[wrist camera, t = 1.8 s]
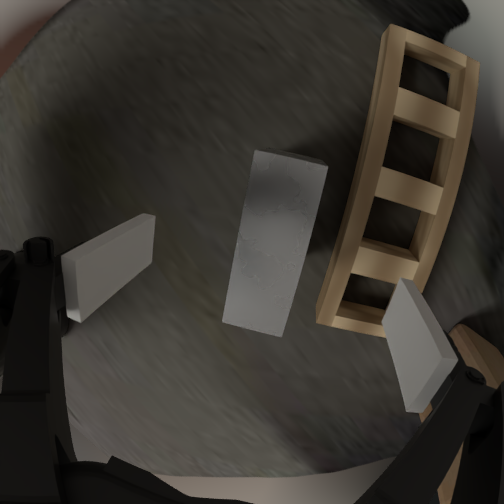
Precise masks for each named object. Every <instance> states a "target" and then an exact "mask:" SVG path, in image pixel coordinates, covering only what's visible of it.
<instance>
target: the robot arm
mask: <svg viewBox="0 0 504 504" xmlns="http://www.w3.org/2000/svg"><path fill="white" fill-rule="evenodd" d="M155 218H156V216H154V215H149V214H145V213H143V214H140V215H138V216H136V217H134V218H132V219H130V220H128V221H126V222H124V223H122V224H120V225H118V226H116V227H114V228H112V229H110V230H108V231H106V232H105V233H103V234H101V235H99V236H97V237H95V238H93V239H91V240H89V241H86V242H82V243H80V244H78V245H76V246H74V248H73V247H72V248H71V249H69V250H68V251H65V252H63V253H61V254H60V255H58V256H56V257H54V248H53V240H52V239H50V238H47V237H34V238H31V239H28V240H26V241H25V242H24V243H23V249H24V252H18V253H15V254H14V253H13V252H12V251H9V250H0V378H1V376H3V381H2V392H1V394H0V504H253V503H248V502H244V501H240V500H229V499H209V498H198V497H190V496H187V495H185V494H183V493H181V492H180V491H178V490H177V489H175V488H173V487H172V486H170V485H168V484H167V483H165V482H164V481H162V480H160V479H159V478H158V477H156V476H154V475H153V474H152V473H150V472H148V471H146V470H143V469H141V468H139V467H136V466H134V465H132V464H129V463H127V462H125V461H123V460H121V459H118V458H116V457H114V456H111V458H110V460H109V461H108V463H107V464H105V463H99V462H93V461H77V458H76V455H75V452H74V448H73V444H72V438H71V432H70V426H69V420H68V413H67V405H66V397H65V388H64V377H63V363H62V343H61V337H62V336H63V335H64V334H65V333H66V331H67V328H68V323H69V318H71V319H73V320H75V321H78V322H80V323H82V322H83V321H84V320H85V319H86V318H87V317H88V316H90V315H91V314H92V313H93V312H94V311H95V310H96V309H98V308H99V307H100V306H101V305H102V304H103V303H104V302H106V301H107V300H108V299H109V298H110V297H111V296H113V295H114V294H115V293H116V292H117V291H118V290H120V289H121V288H122V287H123V286H124V285H126V284H127V283H128V282H129V281H130V280H132V279H133V278H134V277H135V276H136V275H138V274H139V273H140V272H141V271H142V270H144V269H145V268H146V267H147V266H148V265H150V264H151V263H152V254H153V240H154V228H155ZM382 325H383V328H384V331H385V335H386V338H387V341H388V345H389V348H390V351H391V355H392V358H393V362H394V365H395V369H396V373H397V376H398V380H399V384H400V388H401V392H402V396H403V400H404V404H405V408H406V412H416V413H422V412H423V411H424V410H425V408H426V407H427V406H428V404H429V403H431V406H432V411H431V412H430V413H429V415H428V416H427V417H426V418H425V420H424V421H423V422H422V423H421V425H420V426H419V427H418V428H419V429H418V430H417V431H416V433H415V434H414V435H413V437H412V438H411V439H410V441H409V442H408V443H407V445H406V446H405V447H404V448H403V450H402V451H401V452H400V453H399V455H398V456H397V457H396V458H395V460H394V461H393V462H392V463H391V464H390V465H389V467H388V468H387V469H386V470H385V471H384V472H383V474H382V475H381V476H380V477H379V478H378V479H377V480H376V481H375V482H374V483H373V485H372V486H371V487H370V488H369V489H368V490H367V491H366V492H365V493H364V494H363V495H362V496H361V497H360V498H359V499H358V500H357V501H356V502H355V503H354V504H429V502H430V501H431V499H432V498H433V496H434V494H435V493H436V491H437V490H438V488H439V486H440V485H441V483H442V481H443V479H444V478H445V476H446V474H447V472H448V471H449V469H450V467H451V465H452V463H453V461H454V459H455V457H456V455H457V454H458V452H459V450H460V447H461V445H462V443H463V448H462V454H461V459H460V465H459V469H458V474H457V479H456V483H455V487H454V491H453V495H452V499H451V503H450V504H504V381H503V382H501V384H500V385H499V387H498V388H497V389H495V388H492V387H490V386H487V385H486V384H487V381H486V379H485V377H484V375H483V374H482V373H481V372H480V371H478V370H477V369H475V368H473V367H470V366H467V365H466V363H465V361H464V360H463V358H462V356H461V354H460V352H459V351H458V348H457V347H456V346H455V343H454V341H453V340H452V338H451V336H450V335H449V334H448V333H447V332H446V331H444V330H442V329H441V327H440V325H439V323H438V322H437V320H436V318H435V316H434V315H433V313H432V311H431V310H430V308H429V306H428V304H427V303H426V301H425V300H424V298H423V296H422V295H421V293H420V291H419V290H418V288H417V287H416V285H415V283H414V282H413V280H409V279H405V278H401V277H400V279H399V281H398V284H397V286H396V289H395V291H394V294H393V296H392V299H391V301H390V303H389V306H388V308H387V310H386V313H385V315H384V317H383V319H382ZM463 441H464V442H463Z"/></svg>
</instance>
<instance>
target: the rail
mask: <svg viewBox="0 0 504 504" xmlns="http://www.w3.org/2000/svg"><path fill="white" fill-rule="evenodd" d="M404 55H407V56H409V57H412V58H414V59H417V60H420V61H422V62H424V63H427V64H429V65H432V66H434V67H436V68H439V69H441V70H443V71H445V72H448V73H450V80H449V88H448V95H447V101H446V106H445V105H443V104H441V103H439V102H436V101H434V100H431V99H429V98H427V97H424V96H422V95H419V94H416V93H414V92H411V91H409V90H406V89H403V88H400V87H399V82H400V76H401V70H402V64H403V57H404ZM479 70H480V63H479V62H478V61H476V60H474V59H472V58H470V57H468V56H466V55H464V54H462V53H460V52H458V51H456V50H454V49H452V48H450V47H448V46H446V45H444V44H441V43H439V42H437V41H435V40H432V39H430V38H428V37H425V36H423V35H420V34H418V33H415V32H413V31H410V30H407V29H405V28H402V27H399V26H396V25H393V24H390V25H389V26H388V28H387V29H386V30H385V32H384V33H383V34H382V37H381V44H380V50H379V56H378V62H377V68H376V74H375V80H374V85H373V90H372V96H371V101H370V106H369V111H368V116H367V120H366V125H365V130H364V134H363V139H362V143H361V147H360V152H359V156H358V160H357V164H356V168H355V173H354V177H353V181H352V184H351V188H350V192H349V196H348V200H347V204H346V207H345V211H344V215H343V218H342V222H341V225H340V229H339V232H338V236H337V239H336V243H335V246H334V249H333V253H332V256H331V259H330V263H329V266H328V269H327V272H326V275H325V279H324V282H323V285H322V288H321V291H320V294H319V297H318V300H317V303H316V323H319V324H323V325H328V326H332V327H337V328H341V329H346V330H351V331H355V332H360V333H365V334H370V335H375V336H380V337H385V338H386V335H385V331H384V328H383V325H382V319H383V317H384V315H385V313H386V310H387V308H388V306H389V303H390V301H391V299H392V296H393V294H394V291H395V289H396V286H397V284H398V281H399V279H400V277H401V278H405V279H409V280H413V282H414V283H415V285H416V287H417V288H418V290H419V291H420V293H421V294H422V292H423V289H424V287H425V285H426V282H427V280H428V277H429V275H430V272H431V270H432V267H433V265H434V262H435V259H436V257H437V254H438V251H439V248H440V246H441V243H442V240H443V237H444V234H445V231H446V228H447V225H448V222H449V219H450V216H451V212H452V209H453V206H454V202H455V199H456V195H457V192H458V188H459V184H460V180H461V177H462V172H463V168H464V164H465V160H466V155H467V151H468V146H469V141H470V136H471V130H472V125H473V118H474V112H475V106H476V98H477V90H478V81H479ZM392 121H395V122H398V123H401V124H404V125H407V126H409V127H412V128H415V129H417V130H420V131H423V132H425V133H428V134H430V135H433V136H435V137H438V138H440V139H439V144H438V149H437V153H436V157H435V162H434V166H433V170H432V174H431V178H430V181H429V182H427V181H424V180H421V179H419V178H416V177H413V176H410V175H407V174H404V173H401V172H398V171H395V170H392V169H389V168H386V167H382V164H383V160H384V156H385V152H386V147H387V143H388V138H389V134H390V129H391V125H392ZM374 196H377V197H380V198H384V199H387V200H390V201H393V202H397V203H400V204H403V205H406V206H409V207H412V208H415V209H418V210H421V213H420V216H419V220H418V223H417V226H416V229H415V232H414V235H413V238H412V241H411V244H410V247H409V250H408V249H404V248H401V247H397V246H394V245H390V244H387V243H383V242H379V241H376V240H372V239H368V238H365V237H362V236H363V233H364V230H365V226H366V223H367V220H368V216H369V213H370V209H371V206H372V202H373V199H374ZM350 273H354V274H358V275H362V276H366V277H370V278H374V279H378V280H382V281H386V282H390V283H394V284H395V287H394V290H393V292H392V294H391V297H390V299H389V302H388V304H387V306H386V309H385V310H383V309H379V308H375V307H370V306H366V305H361V304H357V303H353V302H348V301H344V300H341V299H342V296H343V293H344V291H345V288H346V285H347V282H348V279H349V276H350Z"/></svg>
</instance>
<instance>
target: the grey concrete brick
mask: <svg viewBox="0 0 504 504" xmlns="http://www.w3.org/2000/svg"><path fill="white" fill-rule="evenodd" d="M327 170H328V166H327V165H326V164H325V163H324V162H323V161H322V160H320V159H316V158H312V157H308V156H304V155H300V154H296V153H291V152H287V151H282V150H278V149H273V148H264V149H257V150H255V151H254V156H253V161H252V166H251V171H250V176H249V181H248V186H247V192H246V197H245V202H244V207H243V212H242V217H241V223H240V228H239V233H238V238H237V244H236V249H235V254H234V260H233V265H232V270H231V276H230V281H229V287H228V292H227V298H226V303H225V309H224V314H223V320H222V322H224V323H228V324H231V325H235V326H239V327H243V328H246V329H250V330H254V331H258V332H262V333H266V334H270V335H274V336H278V337H282V334H283V331H284V328H285V325H286V321H287V318H288V315H289V311H290V308H291V305H292V301H293V298H294V295H295V291H296V288H297V284H298V281H299V277H300V274H301V270H302V267H303V263H304V259H305V256H306V252H307V249H308V245H309V241H310V237H311V234H312V230H313V226H314V222H315V218H316V215H317V211H318V207H319V203H320V199H321V195H322V191H323V187H324V183H325V179H326V174H327Z"/></svg>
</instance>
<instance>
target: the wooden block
mask: <svg viewBox="0 0 504 504" xmlns="http://www.w3.org/2000/svg"><path fill="white" fill-rule="evenodd" d="M449 335H450V336H451V338H452V340H453V341H454V343H455V346H456V347H457V348H458V351H459V352H460V354H461V356H462V358H463V360H464V361H465V363H466V365H467V366H470V367H473V368H475V369H477V370H478V371H480V372H481V373H482V374H483V375H484V377H485V379H486V381H487V384H486V385H487V386H490V387H492V388H495V389H497V388H498V387H499V385H500V384H501V382H503V381H504V358H503V356H502V355H501V353H500V352H499V350H498V349H497V348H496V347H495V346H493V345H492V344H491V343H489V342H488V341H487V340H485V339H484V338H483V337H481V336H480V335H478V334H477V333H476V332H474V331H473V330H472V329H470V328H469V327H467V326H466V325H463V324H457V325H456V326H454V328H453V329H452V330H451V331H450V332H449ZM431 411H432V406H431V403H429V404H428V406H427V407H426V408H425V410H424V411H423V412H422V413H419V415H420V419H421V422H423V421H424V420H425V418H426V417H427V416H428V415H429V413H430V412H431ZM463 442H464V441H463ZM462 448H463V443H462V445H461V447H460V450H459V452H458V454H457V455H456V457H455V459H454V461H453V463H452V465H451V467H450V469H449V471H448V472H447V474H446V476H445V478H444V479H443V481H442V483H441V485H440V486H439V488H438V495H439V500H440V504H450V503H451V499H452V495H453V491H454V487H455V483H456V479H457V474H458V469H459V465H460V459H461V454H462Z"/></svg>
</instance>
